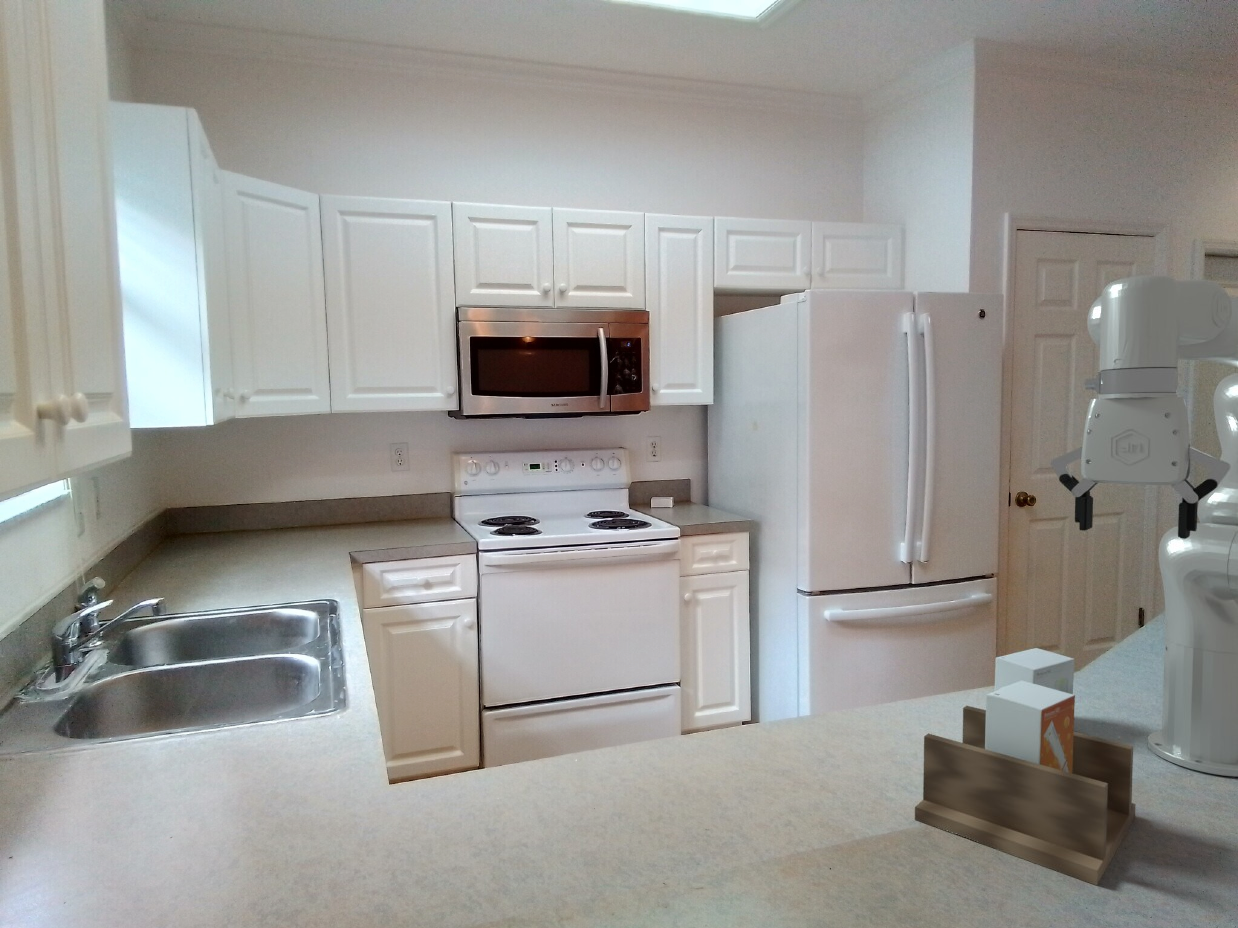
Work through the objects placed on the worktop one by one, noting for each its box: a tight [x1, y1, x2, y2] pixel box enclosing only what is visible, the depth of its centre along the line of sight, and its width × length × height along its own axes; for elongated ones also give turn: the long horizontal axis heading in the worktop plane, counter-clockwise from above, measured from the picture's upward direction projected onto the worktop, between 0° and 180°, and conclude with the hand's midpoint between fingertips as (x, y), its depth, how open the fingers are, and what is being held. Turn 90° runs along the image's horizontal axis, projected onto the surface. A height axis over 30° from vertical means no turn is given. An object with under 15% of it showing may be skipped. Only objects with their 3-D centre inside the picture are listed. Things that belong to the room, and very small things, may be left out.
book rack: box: [914, 705, 1137, 886], centre depth 86 cm, size 18×18×9 cm
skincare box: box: [993, 647, 1075, 695], centre depth 113 cm, size 10×6×10 cm, turn 120°
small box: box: [985, 681, 1076, 773], centre depth 86 cm, size 8×6×13 cm
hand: (1133, 533), depth 88 cm, fingers open, 9 cm apart
